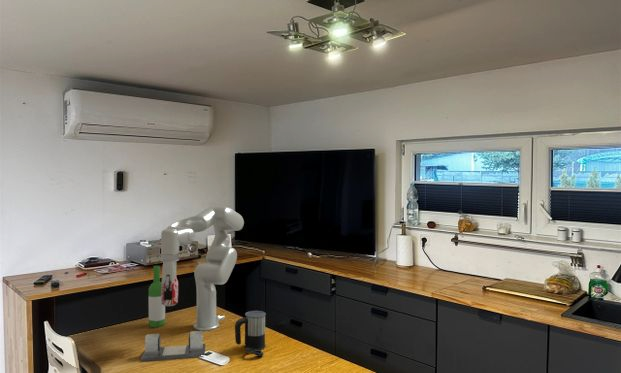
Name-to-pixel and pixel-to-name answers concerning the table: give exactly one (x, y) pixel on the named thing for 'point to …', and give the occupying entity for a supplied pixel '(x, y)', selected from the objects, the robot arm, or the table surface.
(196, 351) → the rail
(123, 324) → the table surface
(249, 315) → the milk frother
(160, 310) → the wine bottle
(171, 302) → the soda can
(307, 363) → the table surface
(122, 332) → the table surface
